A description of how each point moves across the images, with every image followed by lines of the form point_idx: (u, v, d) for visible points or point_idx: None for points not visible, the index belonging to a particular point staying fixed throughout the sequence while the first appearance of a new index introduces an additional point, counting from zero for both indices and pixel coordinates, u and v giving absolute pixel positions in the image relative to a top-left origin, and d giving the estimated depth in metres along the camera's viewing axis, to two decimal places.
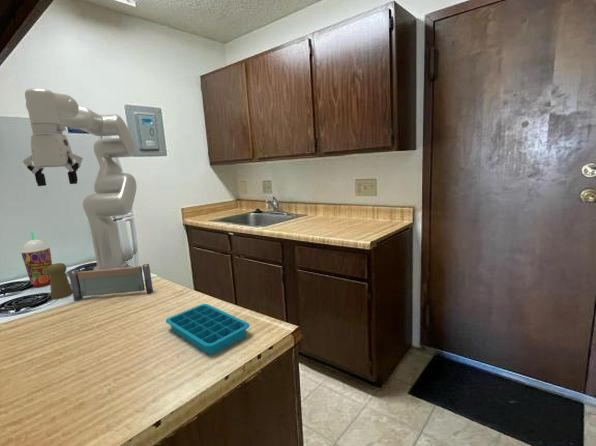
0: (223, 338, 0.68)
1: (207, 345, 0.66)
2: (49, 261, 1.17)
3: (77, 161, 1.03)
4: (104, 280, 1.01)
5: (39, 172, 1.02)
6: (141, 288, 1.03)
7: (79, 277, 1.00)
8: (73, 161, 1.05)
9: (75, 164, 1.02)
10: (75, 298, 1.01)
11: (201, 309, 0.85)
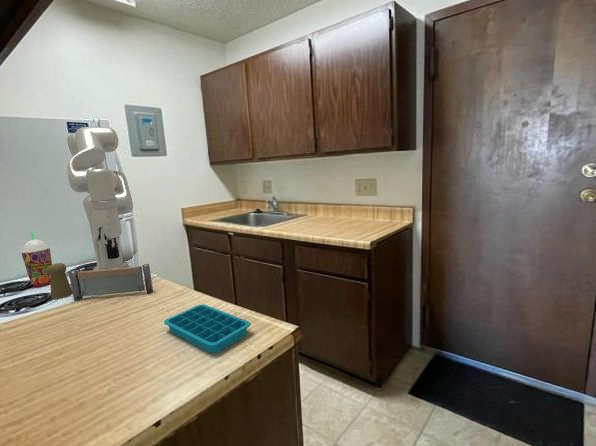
0: (226, 337, 0.69)
1: (210, 344, 0.66)
2: (49, 261, 1.17)
3: (117, 237, 1.13)
4: (104, 280, 1.01)
5: None
6: (141, 288, 1.03)
7: (79, 277, 1.00)
8: None
9: None
10: (75, 298, 1.01)
11: (199, 310, 0.85)
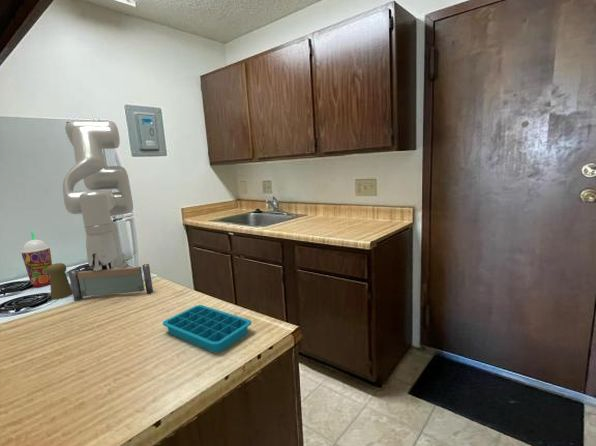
0: (228, 336, 0.69)
1: (214, 343, 0.67)
2: (49, 261, 1.17)
3: (112, 261, 1.08)
4: (104, 280, 1.01)
5: None
6: (141, 288, 1.02)
7: (79, 277, 1.00)
8: None
9: None
10: (75, 298, 1.01)
11: (196, 311, 0.85)
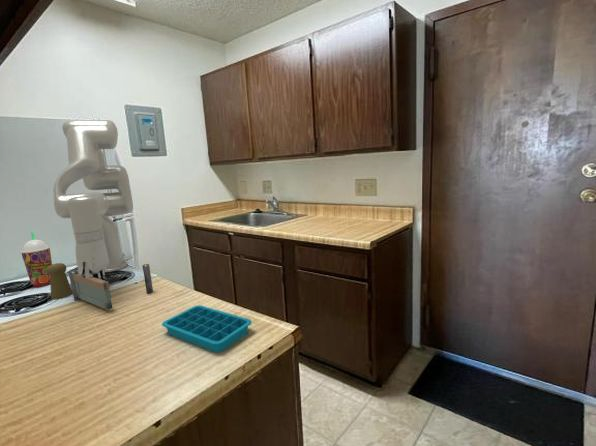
0: (229, 335, 0.69)
1: (215, 343, 0.67)
2: (49, 261, 1.17)
3: (104, 268, 1.03)
4: (87, 287, 0.96)
5: None
6: (106, 306, 0.90)
7: (74, 279, 0.99)
8: None
9: (103, 270, 1.02)
10: (75, 298, 1.01)
11: (195, 311, 0.84)
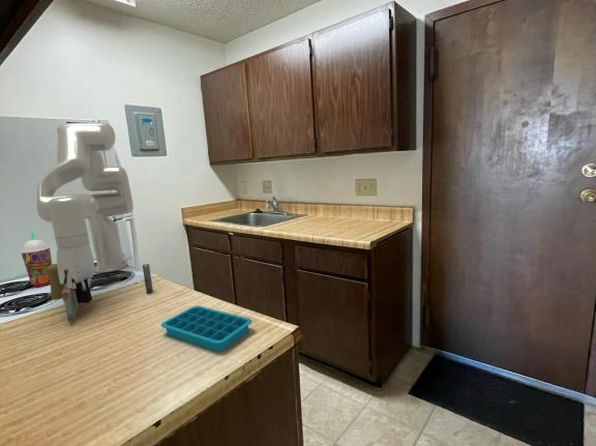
0: (231, 334, 0.70)
1: (217, 342, 0.67)
2: (49, 261, 1.17)
3: (90, 276, 0.94)
4: None
5: None
6: (68, 318, 0.84)
7: None
8: None
9: None
10: None
11: (193, 312, 0.84)
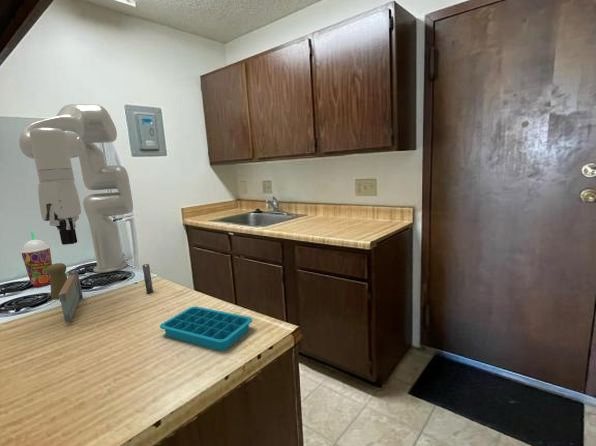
0: (233, 333, 0.70)
1: (221, 341, 0.67)
2: (49, 261, 1.17)
3: (75, 218, 0.90)
4: None
5: None
6: None
7: None
8: None
9: None
10: None
11: (191, 312, 0.84)
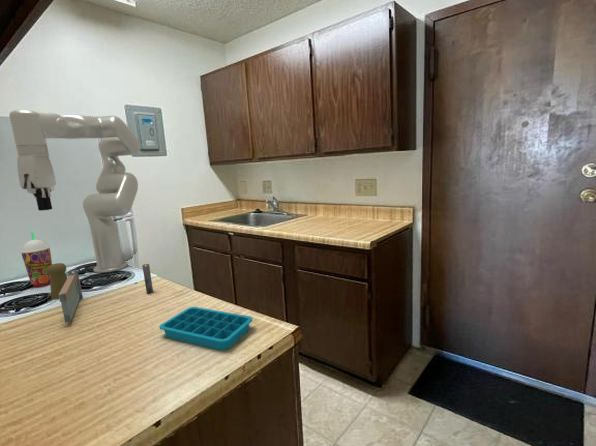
0: (234, 332, 0.70)
1: (222, 341, 0.67)
2: (49, 261, 1.17)
3: (51, 189, 1.05)
4: None
5: None
6: None
7: None
8: None
9: (49, 190, 1.04)
10: None
11: (190, 313, 0.84)
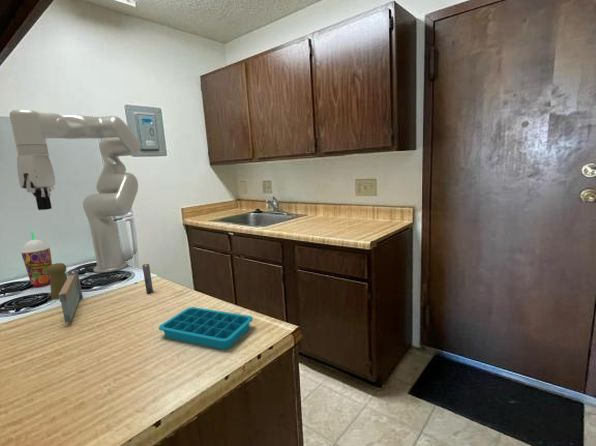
0: (235, 332, 0.71)
1: (224, 340, 0.68)
2: (49, 261, 1.17)
3: (50, 188, 1.05)
4: None
5: None
6: None
7: None
8: None
9: None
10: None
11: (189, 313, 0.83)
